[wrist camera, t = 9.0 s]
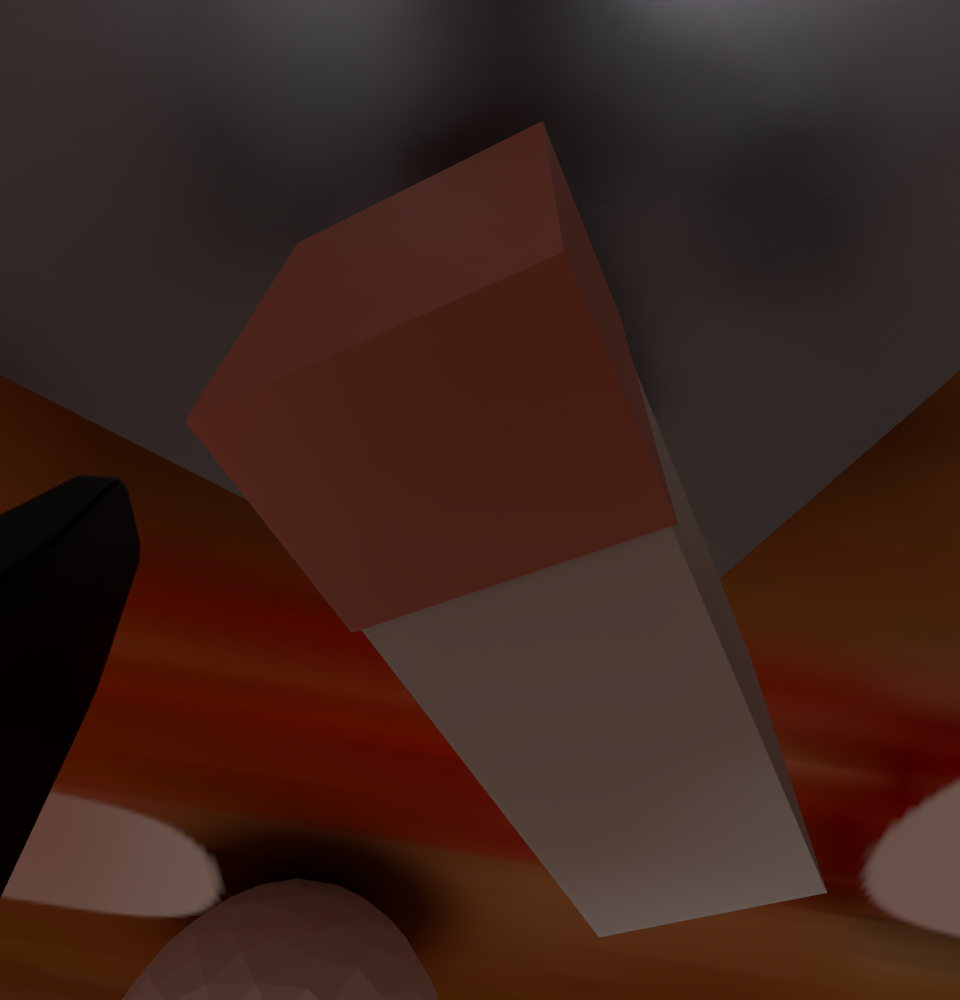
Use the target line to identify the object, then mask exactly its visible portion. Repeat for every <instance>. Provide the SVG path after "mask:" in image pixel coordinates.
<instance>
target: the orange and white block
mask: <svg viewBox="0 0 960 1000" xmlns="http://www.w3.org/2000/svg"><path fill="white" fill-rule="evenodd" d="M185 422H186V423H187V424H188V426H189V427H190V428H191V429H192V431H193V432H194V433H195V434H196V436H197V437H198V438H199V440H200V441H201V442H202V443H203V445H204V446H205V447H206V448H207V450H208V451H209V452H210V454H211V455H212V456H213V457H214V459H215V460H216V461H217V462H218V464H219V465H220V466H221V467H222V469H223V470H224V471H225V473H226V474H227V475H228V476H229V478H230V479H231V480H232V481H233V483H234V484H235V485H236V487H237V488H238V489H239V490H240V492H241V493H242V494H243V495H244V497H245V498H246V499H247V501H248V502H249V503H250V504H251V506H252V507H253V508H254V509H255V511H256V512H257V513H258V515H259V516H260V517H261V518H262V520H263V521H264V522H265V523H266V525H267V526H268V527H269V529H270V530H271V531H272V532H273V534H274V535H275V536H276V537H277V539H278V540H279V541H280V543H281V544H282V545H283V546H284V548H285V549H286V550H287V551H288V553H289V554H290V555H291V557H292V558H293V559H294V560H295V562H296V563H297V564H298V565H299V567H300V568H301V569H302V571H303V572H304V573H305V574H306V576H307V577H308V578H309V579H310V581H311V582H312V583H313V584H314V586H315V587H316V588H317V590H318V591H319V592H320V593H321V595H322V596H323V597H324V598H325V600H326V601H327V602H328V604H329V605H330V606H331V607H332V609H333V610H334V611H335V612H336V614H337V615H338V616H339V618H340V619H341V620H342V621H343V623H344V624H345V625H346V626H347V628H348V629H349V630H350V632H351V633H353V632H356V631H359V630H362V631H363V633H364V634H365V635H366V637H367V638H368V639H369V641H370V642H371V643H372V644H373V646H374V647H375V648H376V650H377V651H378V652H379V653H380V655H381V656H382V657H383V659H384V660H385V661H386V662H387V664H388V665H389V666H390V668H391V669H392V670H393V672H394V673H395V674H396V675H397V677H398V678H399V679H400V681H401V682H402V683H403V684H404V686H405V687H406V688H407V690H408V691H409V692H410V693H411V695H412V696H413V697H414V699H415V700H416V701H417V702H418V704H419V705H420V706H421V708H422V709H423V710H424V712H425V713H426V714H427V715H428V717H429V718H430V719H431V721H432V722H433V723H434V724H435V726H436V727H437V728H438V730H439V731H440V732H441V733H442V735H443V736H444V737H445V739H446V740H447V741H448V743H449V744H450V745H451V746H452V748H453V749H454V750H455V752H456V753H457V754H458V755H459V757H460V758H461V759H462V761H463V762H464V763H465V764H466V766H467V767H468V768H469V770H470V771H471V772H472V774H473V775H474V776H475V777H476V779H477V780H478V781H479V783H480V784H481V785H482V786H483V788H484V789H485V790H486V792H487V793H488V794H489V795H490V797H491V798H492V799H493V801H494V802H495V803H496V805H497V806H498V807H499V808H500V810H501V811H502V812H503V814H504V815H505V816H506V817H507V819H508V820H509V821H510V823H511V824H512V825H513V826H514V828H515V829H516V830H517V832H518V833H519V834H520V836H521V837H522V838H523V839H524V841H525V842H526V843H527V845H528V846H529V847H530V848H531V850H532V851H533V852H534V854H535V855H536V856H537V857H538V859H539V860H540V861H541V863H542V864H543V865H544V866H545V868H546V869H547V870H548V872H549V873H550V874H551V876H552V877H553V878H554V879H555V881H556V882H557V883H558V885H559V886H560V887H561V888H562V890H563V891H564V892H565V894H566V895H567V896H568V897H569V899H570V900H571V901H572V903H573V904H574V905H575V907H576V908H577V909H578V910H579V912H580V913H581V914H582V916H583V917H584V918H585V919H586V921H587V922H588V923H589V925H590V926H591V927H592V928H593V930H594V931H595V932H596V934H597V935H598V936H599V937H603V936H608V935H613V934H618V933H623V932H628V931H634V930H639V929H644V928H649V927H654V926H659V925H664V924H669V923H674V922H680V921H685V920H690V919H695V918H700V917H705V916H710V915H715V914H720V913H726V912H731V911H736V910H741V909H746V908H751V907H756V906H761V905H767V904H772V903H777V902H782V901H787V900H792V899H797V898H802V897H807V896H813V895H818V894H823V893H827V892H826V889H825V886H824V882H823V879H822V876H821V873H820V870H819V867H818V864H817V861H816V858H815V855H814V852H813V849H812V845H811V842H810V839H809V836H808V833H807V830H806V827H805V824H804V821H803V818H802V815H801V812H800V808H799V805H798V802H797V799H796V796H795V793H794V790H793V787H792V784H791V781H790V778H789V775H788V771H787V768H786V765H785V762H784V759H783V756H782V753H781V750H780V747H779V744H778V741H777V738H776V735H775V731H774V728H773V725H772V722H771V719H770V716H769V713H768V710H767V707H766V704H765V701H764V698H763V694H762V691H761V688H760V685H759V682H758V679H757V676H756V673H755V670H754V667H753V664H752V661H751V657H750V654H749V652H748V649H747V647H746V644H745V642H744V639H743V637H742V634H741V632H740V629H739V627H738V624H737V622H736V619H735V617H734V614H733V612H732V609H731V607H730V604H729V602H728V599H727V597H726V594H725V592H724V589H723V587H722V584H721V582H720V579H719V577H718V574H717V572H716V569H715V567H714V564H713V562H712V559H711V557H710V554H709V552H708V549H707V547H706V544H705V542H704V539H703V537H702V534H701V532H700V529H699V527H698V525H697V522H696V520H695V517H694V515H693V512H692V510H691V507H690V505H689V502H688V500H687V497H686V495H685V492H684V490H683V487H682V485H681V482H680V480H679V477H678V475H677V472H676V470H675V467H674V465H673V462H672V460H671V457H670V455H669V452H668V450H667V447H666V445H665V442H664V440H663V437H662V435H661V432H660V430H659V427H658V425H657V422H656V420H655V417H654V415H653V412H652V410H651V407H650V405H649V402H648V400H647V397H646V395H645V392H644V390H643V387H642V385H641V382H640V380H639V377H638V375H637V372H636V370H635V367H634V364H633V360H632V357H631V353H630V349H629V346H628V342H627V338H626V335H625V331H624V328H623V324H622V320H621V318H620V315H619V313H618V310H617V308H616V305H615V302H614V300H613V297H612V295H611V292H610V290H609V287H608V285H607V282H606V280H605V277H604V275H603V272H602V270H601V267H600V265H599V262H598V260H597V257H596V255H595V252H594V249H593V247H592V244H591V242H590V239H589V237H588V234H587V232H586V229H585V227H584V224H583V222H582V219H581V217H580V214H579V212H578V209H577V207H576V204H575V202H574V199H573V196H572V194H571V191H570V189H569V186H568V184H567V181H566V179H565V176H564V174H563V171H562V169H561V166H560V164H559V161H558V159H557V156H556V154H555V151H554V149H553V146H552V143H551V141H550V138H549V136H548V133H547V131H546V128H545V126H544V123H543V121H542V122H540V123H537V124H535V125H533V126H531V127H529V128H527V129H525V130H523V131H521V132H519V133H517V134H515V135H513V136H511V137H509V138H507V139H505V140H503V141H501V142H499V143H497V144H495V145H493V146H491V147H489V148H487V149H485V150H483V151H481V152H479V153H477V154H475V155H473V156H471V157H469V158H467V159H465V160H463V161H461V162H459V163H457V164H455V165H453V166H451V167H449V168H447V169H445V170H443V171H441V172H439V173H437V174H435V175H433V176H431V177H429V178H427V179H425V180H423V181H421V182H419V183H417V184H415V185H413V186H411V187H409V188H407V189H405V190H403V191H401V192H399V193H397V194H395V195H393V196H391V197H389V198H387V199H385V200H383V201H381V202H379V203H377V204H375V205H373V206H371V207H369V208H367V209H365V210H363V211H361V212H359V213H357V214H355V215H353V216H351V217H349V218H347V219H345V220H343V221H341V222H339V223H337V224H335V225H333V226H331V227H329V228H327V229H325V230H323V231H321V232H319V233H317V234H315V235H313V236H311V237H309V238H307V239H305V240H303V241H301V242H299V243H298V244H297V245H296V247H295V248H294V250H293V251H292V253H291V255H290V256H289V258H288V259H287V261H286V262H285V264H284V266H283V267H282V269H281V270H280V272H279V273H278V275H277V277H276V278H275V280H274V281H273V283H272V285H271V286H270V288H269V289H268V291H267V292H266V294H265V296H264V297H263V299H262V300H261V302H260V303H259V305H258V307H257V308H256V310H255V311H254V313H253V315H252V316H251V318H250V319H249V321H248V322H247V324H246V326H245V327H244V329H243V330H242V332H241V333H240V335H239V337H238V338H237V340H236V341H235V343H234V344H233V346H232V348H231V349H230V351H229V352H228V354H227V356H226V357H225V359H224V360H223V362H222V363H221V365H220V367H219V368H218V370H217V371H216V373H215V374H214V376H213V378H212V379H211V381H210V382H209V384H208V385H207V387H206V389H205V390H204V392H203V393H202V395H201V397H200V398H199V400H198V401H197V403H196V404H195V406H194V408H193V409H192V411H191V412H190V414H189V415H188V417H187V419H186V420H185Z"/></svg>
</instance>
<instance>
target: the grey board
mask: <svg viewBox="0 0 960 1000" xmlns="http://www.w3.org/2000/svg"><path fill="white" fill-rule="evenodd" d="M542 121H543V123H544V126H545V128H546V131H547V133H548V136H549V138H550V141H551V143H552V146H553V149H554V151H555V154H556V156H557V159H558V161H559V164H560V166H561V169H562V171H563V174H564V176H565V179H566V181H567V184H568V186H569V189H570V191H571V194H572V196H573V199H574V202H575V204H576V207H577V209H578V212H579V214H580V217H581V219H582V222H583V224H584V227H585V229H586V232H587V234H588V237H589V239H590V242H591V244H592V247H593V249H594V252H595V255H596V257H597V260H598V262H599V265H600V267H601V270H602V272H603V275H604V277H605V280H606V282H607V285H608V287H609V290H610V292H611V295H612V297H613V300H614V302H615V305H616V308H617V310H618V313H619V315H620V318H621V320H622V324H623V328H624V331H625V335H626V338H627V342H628V346H629V349H630V353H631V357H632V360H633V364H634V367H635V370H636V372H637V375H638V377H639V380H640V382H641V385H642V387H643V390H644V392H645V395H646V397H647V400H648V402H649V405H650V407H651V410H652V412H653V415H654V417H655V420H656V422H657V425H658V427H659V430H660V432H661V435H662V437H663V440H664V442H665V445H666V447H667V450H668V452H669V455H670V457H671V460H672V462H673V465H674V467H675V470H676V472H677V475H678V477H679V480H680V482H681V485H682V487H683V490H684V492H685V495H686V497H687V500H688V502H689V505H690V507H691V510H692V512H693V515H694V517H695V520H696V522H697V525H698V527H699V529H700V532H701V534H702V537H703V539H704V542H705V544H706V547H707V549H708V552H709V554H710V557H711V559H712V562H713V564H714V567H715V569H716V572H717V574H718V577H719V579H720V578H721V577H722V576H723V575H725V574H726V573H727V572H728V571H729V570H730V569H731V568H733V567H734V566H735V565H736V564H737V563H738V562H740V561H741V560H742V559H743V558H744V557H745V556H746V555H748V554H749V553H750V552H751V551H752V550H753V549H755V548H756V547H757V546H758V545H759V544H760V543H761V542H763V541H764V540H765V539H766V538H767V537H768V536H769V535H771V534H772V533H773V532H774V531H775V530H776V529H778V528H779V527H780V526H781V525H782V524H783V523H784V522H786V521H787V520H788V519H789V518H790V517H791V516H793V515H794V514H795V513H796V512H797V511H798V510H799V509H801V508H802V507H803V506H804V505H805V504H806V503H808V502H809V501H810V500H811V499H812V498H813V497H814V496H816V495H817V494H818V493H819V492H820V491H821V490H823V489H824V488H825V487H826V486H827V485H828V484H829V483H831V482H832V481H833V480H834V479H835V478H836V477H837V476H839V475H840V474H841V473H842V472H843V471H844V470H846V469H847V468H848V467H849V466H850V465H851V464H852V463H854V462H855V461H856V460H857V459H858V458H859V457H861V456H862V455H863V454H864V453H865V452H866V451H867V450H869V449H870V448H871V447H872V446H873V445H874V444H876V443H877V442H878V441H879V440H880V439H881V438H882V437H884V436H885V435H886V434H887V433H888V432H889V431H891V430H892V429H893V428H894V427H895V426H896V425H897V424H899V423H900V422H901V421H902V420H903V419H904V418H906V417H907V416H908V415H909V414H910V413H911V412H912V411H914V410H915V409H916V408H917V407H918V406H919V405H920V404H922V403H923V402H924V401H925V400H926V399H927V398H929V397H930V396H931V395H932V394H933V393H934V392H935V391H937V390H938V389H939V388H940V387H941V386H942V385H944V384H945V383H946V382H947V381H948V380H949V379H950V378H952V377H953V376H954V375H955V374H956V373H957V372H959V371H960V0H0V375H1V376H2V377H4V378H6V379H8V380H10V381H12V382H14V383H16V384H18V385H20V386H22V387H24V388H26V389H28V390H30V391H32V392H34V393H36V394H38V395H40V396H42V397H44V398H46V399H48V400H50V401H52V402H54V403H56V404H58V405H60V406H62V407H64V408H66V409H68V410H70V411H72V412H74V413H76V414H78V415H80V416H82V417H84V418H86V419H87V420H89V421H91V422H93V423H95V424H97V425H99V426H101V427H103V428H105V429H107V430H109V431H111V432H113V433H115V434H117V435H119V436H121V437H123V438H125V439H127V440H129V441H131V442H133V443H135V444H137V445H139V446H141V447H143V448H145V449H147V450H149V451H151V452H153V453H155V454H157V455H159V456H161V457H163V458H165V459H167V460H169V461H171V462H172V463H174V464H176V465H178V466H180V467H182V468H184V469H186V470H188V471H190V472H192V473H194V474H196V475H198V476H200V477H202V478H204V479H206V480H208V481H210V482H212V483H214V484H216V485H218V486H220V487H222V488H224V489H226V490H228V491H230V492H232V493H234V494H236V495H238V496H240V497H242V498H244V499H246V498H245V497H244V495H243V494H242V493H241V492H240V490H239V489H238V488H237V487H236V485H235V484H234V483H233V481H232V480H231V479H230V478H229V476H228V475H227V474H226V473H225V471H224V470H223V469H222V467H221V466H220V465H219V464H218V462H217V461H216V460H215V459H214V457H213V456H212V455H211V454H210V452H209V451H208V450H207V448H206V447H205V446H204V445H203V443H202V442H201V441H200V440H199V438H198V437H197V436H196V434H195V433H194V432H193V431H192V429H191V428H190V427H189V426H188V424H187V423H186V422H185V420H186V419H187V417H188V415H189V414H190V412H191V411H192V409H193V408H194V406H195V404H196V403H197V401H198V400H199V398H200V397H201V395H202V393H203V392H204V390H205V389H206V387H207V385H208V384H209V382H210V381H211V379H212V378H213V376H214V374H215V373H216V371H217V370H218V368H219V367H220V365H221V363H222V362H223V360H224V359H225V357H226V356H227V354H228V352H229V351H230V349H231V348H232V346H233V344H234V343H235V341H236V340H237V338H238V337H239V335H240V333H241V332H242V330H243V329H244V327H245V326H246V324H247V322H248V321H249V319H250V318H251V316H252V315H253V313H254V311H255V310H256V308H257V307H258V305H259V303H260V302H261V300H262V299H263V297H264V296H265V294H266V292H267V291H268V289H269V288H270V286H271V285H272V283H273V281H274V280H275V278H276V277H277V275H278V273H279V272H280V270H281V269H282V267H283V266H284V264H285V262H286V261H287V259H288V258H289V256H290V255H291V253H292V251H293V250H294V248H295V247H296V245H297V244H298V243H299V242H301V241H303V240H305V239H307V238H309V237H311V236H313V235H315V234H317V233H319V232H321V231H323V230H325V229H327V228H329V227H331V226H333V225H335V224H337V223H339V222H341V221H343V220H345V219H347V218H349V217H351V216H353V215H355V214H357V213H359V212H361V211H363V210H365V209H367V208H369V207H371V206H373V205H375V204H377V203H379V202H381V201H383V200H385V199H387V198H389V197H391V196H393V195H395V194H397V193H399V192H401V191H403V190H405V189H407V188H409V187H411V186H413V185H415V184H417V183H419V182H421V181H423V180H425V179H427V178H429V177H431V176H433V175H435V174H437V173H439V172H441V171H443V170H445V169H447V168H449V167H451V166H453V165H455V164H457V163H459V162H461V161H463V160H465V159H467V158H469V157H471V156H473V155H475V154H477V153H479V152H481V151H483V150H485V149H487V148H489V147H491V146H493V145H495V144H497V143H499V142H501V141H503V140H505V139H507V138H509V137H511V136H513V135H515V134H517V133H519V132H521V131H523V130H525V129H527V128H529V127H531V126H533V125H535V124H537V123H540V122H542ZM246 500H247V499H246Z"/></svg>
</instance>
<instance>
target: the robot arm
mask: <svg viewBox="0 0 960 1000" xmlns="http://www.w3.org/2000/svg"><path fill="white" fill-rule="evenodd" d="M139 558H140V541H139V536H138V532H137V528H136V523H135V519H134V515H133V510H132V506H131V502H130V497H129V493H128V490H127V487H126V486H125V484H124V482H123V481H121V480H120V479H118V478H116V477H104V476H90V475H80V476H76V477H74V478H72V479H70V480H68V481H66V482H64V483H62V484H60V485H58V486H56V487H54V488H52V489H50V490H48V491H46V492H44V493H42V494H40V495H38V496H36V497H34V498H32V499H31V500H29V501H27V502H25V503H23V504H21V505H19V506H17V507H15V508H13V509H11V510H9V511H7V512H5V513H3V514H1V515H0V898H1V895H2V893H3V891H4V889H5V887H6V885H7V883H8V880H9V878H10V876H11V874H12V872H13V870H14V867H15V865H16V863H17V861H18V859H19V857H20V855H21V853H22V850H23V848H24V846H25V844H26V842H27V840H28V838H29V835H30V833H31V831H32V829H33V827H34V825H35V823H36V820H37V818H38V816H39V814H40V812H41V810H42V807H43V805H44V803H45V801H46V799H47V797H48V795H49V793H50V790H51V788H52V786H53V784H54V782H55V780H56V778H57V775H58V773H59V771H60V769H61V767H62V765H63V763H64V760H65V758H66V756H67V754H68V752H69V750H70V748H71V745H72V743H73V741H74V739H75V737H76V735H77V733H78V730H79V728H80V726H81V724H82V722H83V720H84V718H85V715H86V713H87V711H88V709H89V706H90V704H91V702H92V699H93V697H94V695H95V692H96V690H97V687H98V684H99V681H100V679H101V676H102V673H103V670H104V667H105V664H106V661H107V658H108V655H109V652H110V649H111V646H112V643H113V640H114V637H115V634H116V631H117V628H118V625H119V622H120V619H121V615H122V612H123V609H124V606H125V603H126V600H127V597H128V594H129V591H130V588H131V585H132V582H133V579H134V576H135V573H136V570H137V567H138V563H139Z"/></svg>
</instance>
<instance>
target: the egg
mask: <svg viewBox="0 0 960 1000" xmlns="http://www.w3.org/2000/svg"><path fill="white" fill-rule="evenodd" d="M123 1000H438V998H437V995H436V992H435V989H434V986H433V984H432V982H431V980H430V979H429V977H428V975H427V973H426V972H425V970H424V968H423V966H422V965H421V963H420V961H419V959H418V958H417V956H416V954H415V952H414V951H413V949H412V947H411V945H410V944H409V942H408V940H407V938H406V937H405V936H404V935H403V933H402V932H401V931H400V930H399V929H398V927H397V926H396V925H395V924H394V923H393V921H392V920H391V919H390V918H388V917H387V916H386V915H385V914H383V913H382V912H381V911H380V910H378V909H377V908H376V907H375V906H373V905H372V904H371V903H370V902H368V901H367V900H366V899H365V898H363V897H362V896H360V895H358V894H356V893H354V892H352V891H349V890H347V889H345V888H343V887H341V886H339V885H335V884H329V883H323V882H317V881H311V880H305V879H299V878H297V879H291V880H285V881H278V882H272V883H266V884H261V885H259V886H256V887H254V888H251V889H249V890H246V891H244V892H241V893H239V894H237V895H234V896H232V897H230V898H228V899H227V900H225V901H224V902H222V903H221V904H219V905H217V906H216V907H214V908H213V909H211V910H210V911H208V912H207V913H205V914H203V915H202V916H200V917H199V918H197V919H196V920H194V921H193V922H192V923H191V924H190V925H188V926H187V927H186V928H185V929H184V930H182V931H181V932H180V933H179V934H178V935H176V936H175V937H174V938H173V939H172V940H170V941H169V942H168V943H167V944H166V945H165V946H164V948H163V949H162V950H161V951H160V952H159V954H158V955H157V956H156V957H155V958H154V960H153V961H152V962H151V963H150V964H149V965H148V967H147V968H146V969H145V970H144V971H143V973H142V974H141V975H140V976H139V977H138V979H137V980H136V981H135V982H134V983H133V985H132V986H131V987H130V988H129V990H128V991H127V993H126V995H125V996H124V998H123Z"/></svg>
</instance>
